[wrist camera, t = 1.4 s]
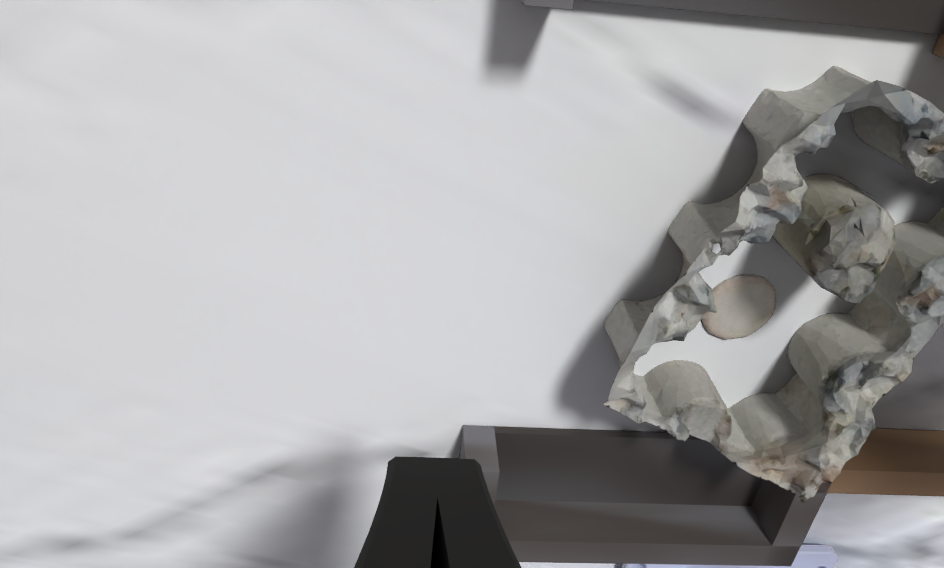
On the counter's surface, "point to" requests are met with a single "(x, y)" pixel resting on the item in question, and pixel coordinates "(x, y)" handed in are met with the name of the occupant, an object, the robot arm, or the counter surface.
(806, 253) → the egg carton
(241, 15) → the counter surface
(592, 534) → the dark tray
